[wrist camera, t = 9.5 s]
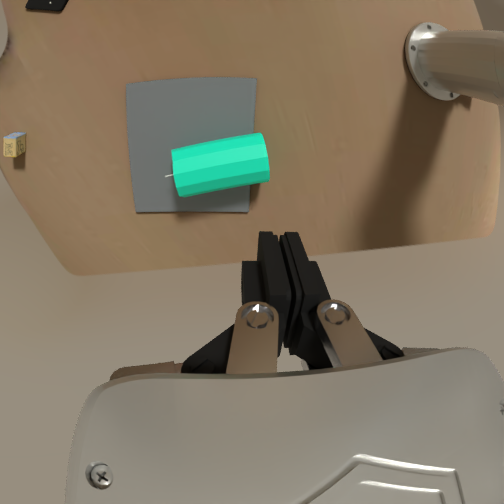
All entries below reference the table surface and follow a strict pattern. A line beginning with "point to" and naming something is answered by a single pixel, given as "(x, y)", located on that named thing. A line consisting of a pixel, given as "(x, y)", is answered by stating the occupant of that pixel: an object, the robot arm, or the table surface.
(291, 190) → the table surface
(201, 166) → the candle
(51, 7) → the cell phone
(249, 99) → the mat
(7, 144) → the alphabet block
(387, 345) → the robot arm
